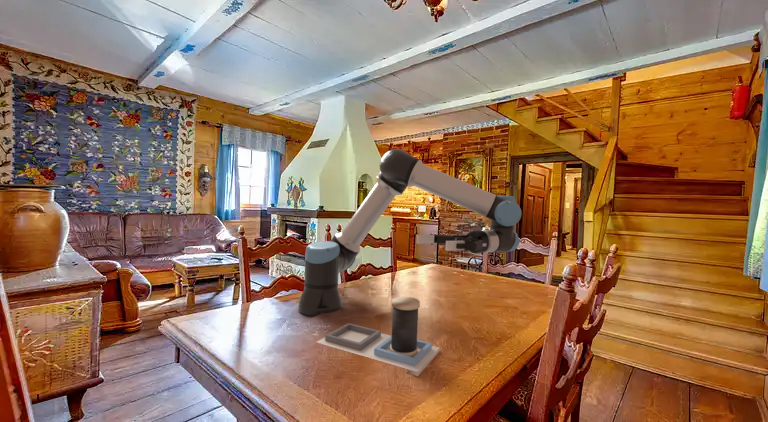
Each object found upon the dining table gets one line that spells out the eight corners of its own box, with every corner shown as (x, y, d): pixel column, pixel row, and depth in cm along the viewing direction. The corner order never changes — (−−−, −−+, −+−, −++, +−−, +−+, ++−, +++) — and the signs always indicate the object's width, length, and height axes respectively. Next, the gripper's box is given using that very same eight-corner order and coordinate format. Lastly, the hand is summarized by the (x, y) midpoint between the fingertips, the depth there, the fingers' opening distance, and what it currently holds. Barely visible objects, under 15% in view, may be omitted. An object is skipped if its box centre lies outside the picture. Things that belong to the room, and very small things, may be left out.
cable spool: (384, 353, 84) (386, 301, 84) (397, 343, 90) (399, 295, 90) (410, 360, 81) (412, 307, 80) (421, 349, 87) (423, 299, 87)
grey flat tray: (315, 345, 89) (316, 336, 89) (347, 328, 103) (348, 319, 103) (417, 376, 76) (418, 365, 76) (439, 351, 89) (439, 342, 89)
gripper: (512, 259, 101) (459, 262, 90) (454, 247, 123) (406, 248, 112) (513, 234, 101) (461, 234, 90) (455, 226, 122) (407, 225, 111)
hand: (430, 242), depth 101 cm, fingers open, 13 cm apart
